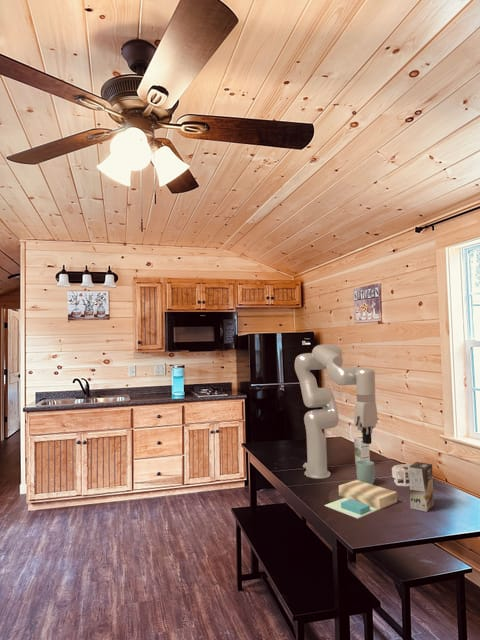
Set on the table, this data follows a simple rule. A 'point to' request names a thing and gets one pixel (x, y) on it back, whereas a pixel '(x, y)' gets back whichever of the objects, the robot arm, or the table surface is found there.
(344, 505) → the teal flat block
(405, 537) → the table surface
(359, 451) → the syrup box
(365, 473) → the cup
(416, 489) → the coffee box
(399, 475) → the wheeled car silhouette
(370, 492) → the deck
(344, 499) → the mat
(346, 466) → the table surface
